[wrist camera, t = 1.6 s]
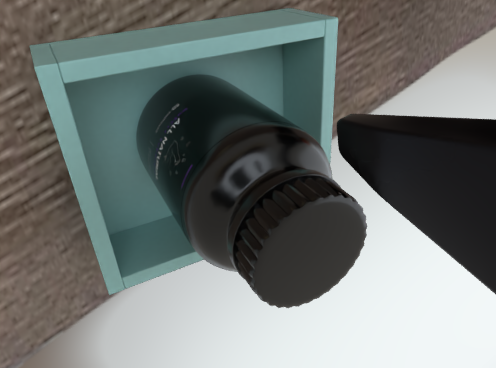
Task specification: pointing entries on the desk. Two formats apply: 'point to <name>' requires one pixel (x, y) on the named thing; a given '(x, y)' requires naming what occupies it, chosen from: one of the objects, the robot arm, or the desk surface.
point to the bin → (140, 92)
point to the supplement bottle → (249, 189)
